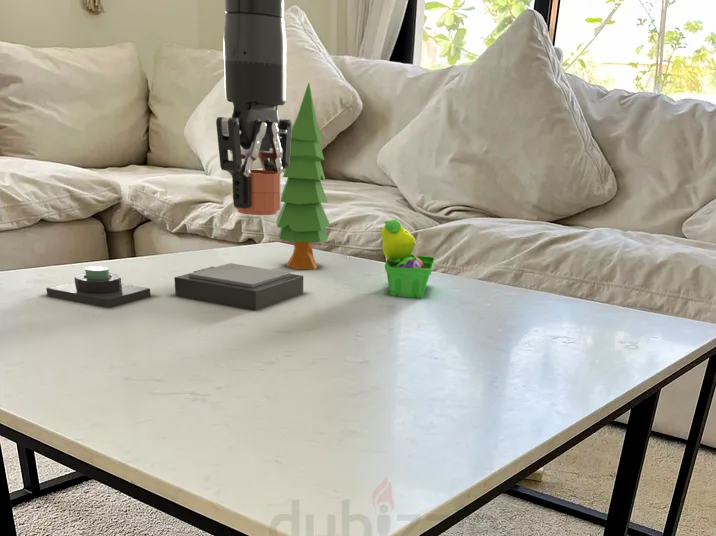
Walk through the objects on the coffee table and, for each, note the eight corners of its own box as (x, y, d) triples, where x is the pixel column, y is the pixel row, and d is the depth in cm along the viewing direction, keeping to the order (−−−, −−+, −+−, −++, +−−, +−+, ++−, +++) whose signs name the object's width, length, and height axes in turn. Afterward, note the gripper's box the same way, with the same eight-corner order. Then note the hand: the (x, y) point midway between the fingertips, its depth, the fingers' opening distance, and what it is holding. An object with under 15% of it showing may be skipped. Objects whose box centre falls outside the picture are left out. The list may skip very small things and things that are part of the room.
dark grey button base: (47, 297, 111) (44, 276, 110) (92, 287, 119) (89, 267, 117) (108, 309, 108) (106, 287, 106) (150, 298, 115) (149, 277, 114)
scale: (175, 297, 116) (173, 273, 115) (228, 282, 128) (227, 260, 126) (255, 312, 112) (255, 287, 110) (303, 295, 123) (303, 272, 122)
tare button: (81, 279, 111) (80, 268, 111) (97, 276, 114) (96, 265, 113) (99, 282, 110) (97, 271, 110) (114, 279, 113) (113, 268, 112)
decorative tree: (330, 265, 147) (336, 83, 133) (324, 275, 138) (329, 82, 124) (279, 261, 147) (280, 79, 133) (269, 270, 138) (269, 78, 125)
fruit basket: (429, 302, 125) (436, 227, 119) (374, 297, 125) (378, 223, 120) (432, 287, 135) (438, 218, 130) (381, 283, 135) (385, 214, 130)
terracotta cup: (224, 211, 102) (223, 170, 100) (250, 207, 107) (250, 168, 105) (263, 217, 100) (263, 174, 98) (288, 212, 105) (288, 172, 103)
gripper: (248, 57, 88) (250, 214, 96) (311, 65, 100) (308, 204, 108) (193, 54, 91) (200, 207, 99) (261, 62, 103) (262, 199, 110)
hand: (257, 205), depth 103 cm, fingers closed on terracotta cup, 6 cm apart
